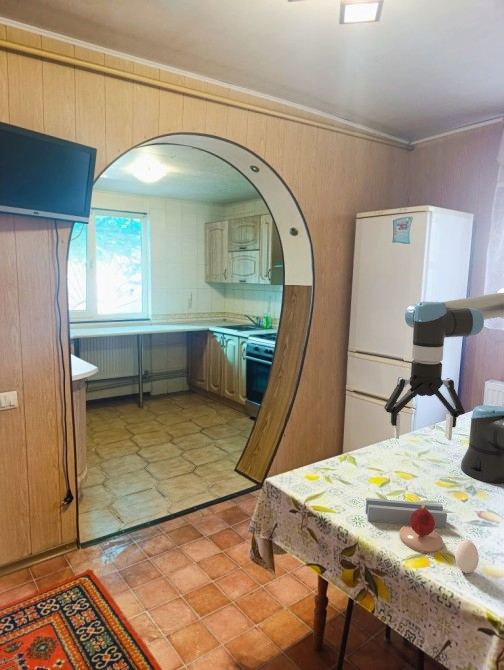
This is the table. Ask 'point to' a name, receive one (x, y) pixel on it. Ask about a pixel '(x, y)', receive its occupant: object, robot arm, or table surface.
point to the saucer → (421, 540)
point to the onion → (422, 521)
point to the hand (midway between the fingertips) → (422, 437)
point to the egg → (467, 556)
